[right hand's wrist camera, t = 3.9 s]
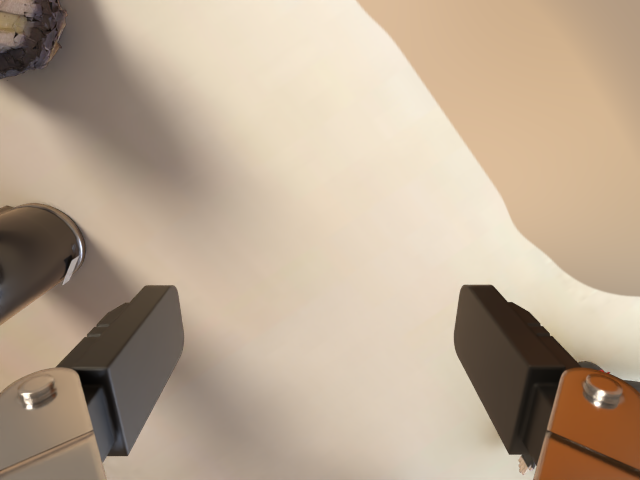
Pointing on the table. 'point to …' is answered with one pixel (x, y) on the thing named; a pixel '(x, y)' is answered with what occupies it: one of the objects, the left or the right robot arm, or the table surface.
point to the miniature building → (29, 34)
